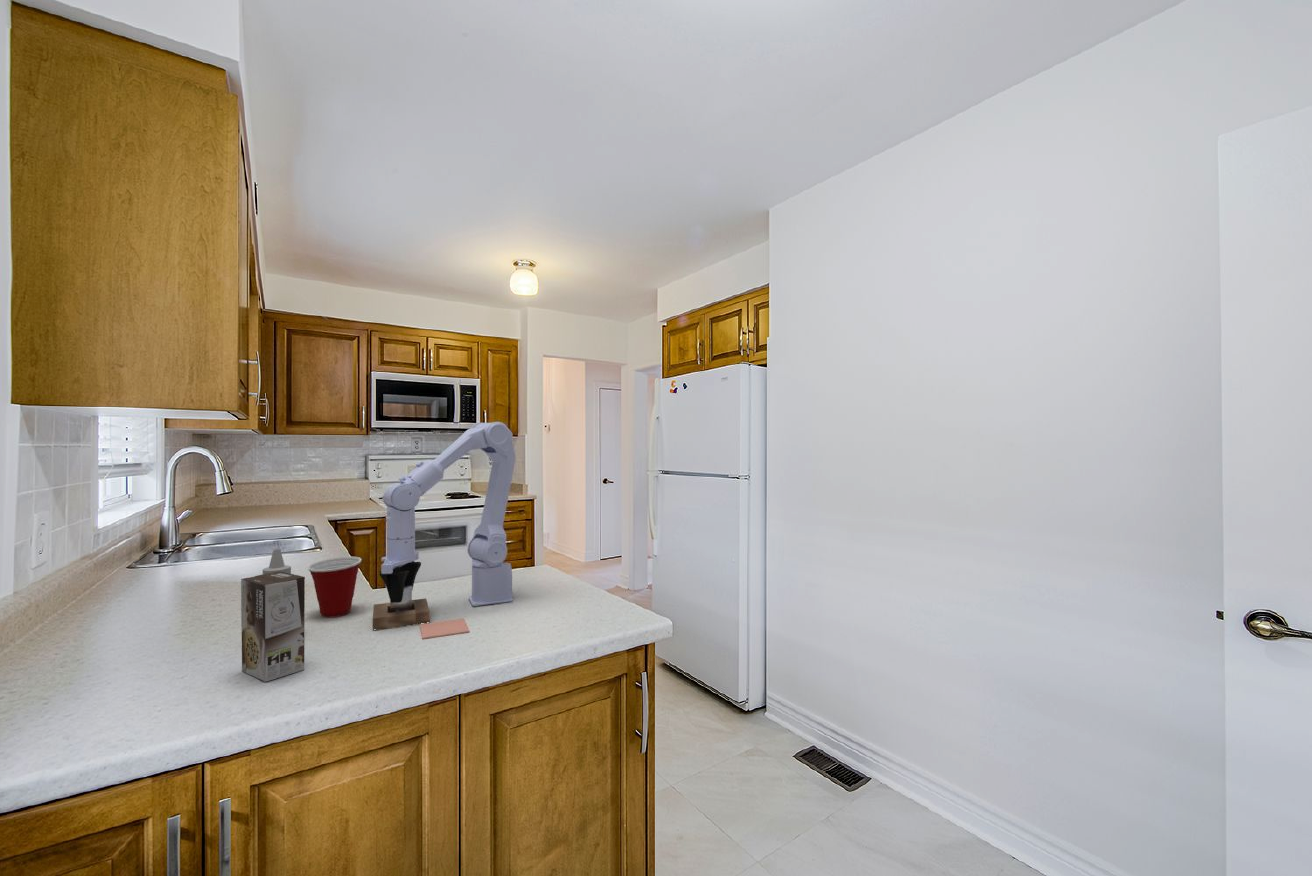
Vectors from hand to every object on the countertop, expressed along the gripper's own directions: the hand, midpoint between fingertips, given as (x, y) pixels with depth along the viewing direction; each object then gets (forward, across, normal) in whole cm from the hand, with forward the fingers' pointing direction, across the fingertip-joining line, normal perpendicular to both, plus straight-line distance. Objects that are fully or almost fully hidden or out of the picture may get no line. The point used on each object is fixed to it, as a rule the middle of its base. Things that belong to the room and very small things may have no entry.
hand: (401, 598), depth 122 cm
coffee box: (+5, +27, -10) cm, 29 cm away
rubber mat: (+4, +7, +12) cm, 14 cm away
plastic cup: (+5, -4, -17) cm, 18 cm away
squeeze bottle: (+5, +12, -19) cm, 23 cm away
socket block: (+4, 0, 0) cm, 4 cm away
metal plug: (+3, 0, 0) cm, 3 cm away
